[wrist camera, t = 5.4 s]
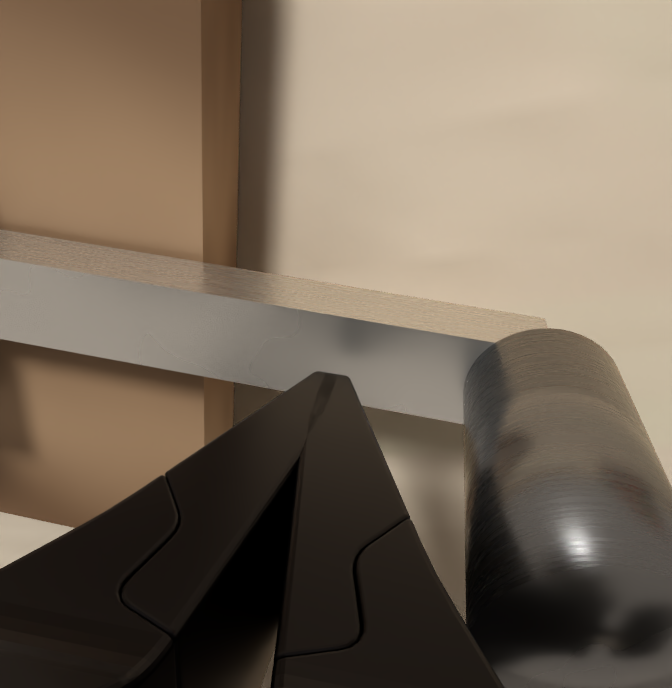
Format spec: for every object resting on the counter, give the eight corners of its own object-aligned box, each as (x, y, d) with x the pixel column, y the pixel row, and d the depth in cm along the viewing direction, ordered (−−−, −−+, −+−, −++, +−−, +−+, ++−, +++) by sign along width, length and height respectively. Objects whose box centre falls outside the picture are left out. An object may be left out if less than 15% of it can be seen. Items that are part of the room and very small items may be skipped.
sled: (553, 503, 12) (621, 851, 7) (-259, 344, 14) (-661, 530, 9) (668, 194, 9) (933, 420, 4) (-388, 46, 11) (-1111, 72, 6)
